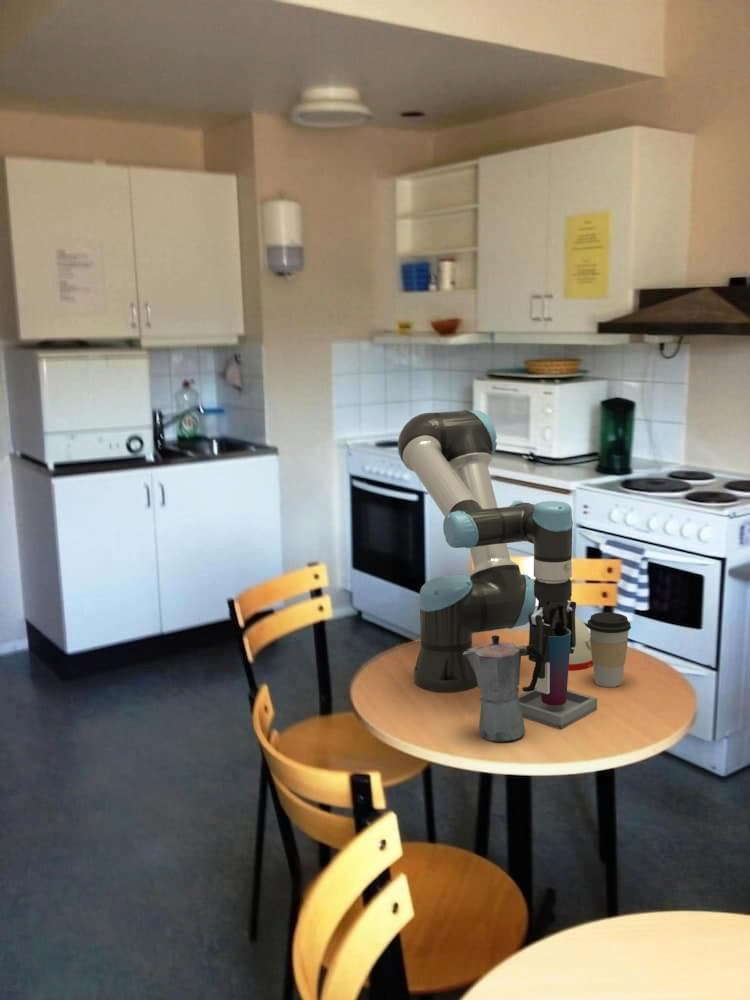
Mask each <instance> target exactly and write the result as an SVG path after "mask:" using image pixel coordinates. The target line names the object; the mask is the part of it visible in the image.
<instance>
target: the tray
mask: <svg viewBox="0 0 750 1000" xmlns="http://www.w3.org/2000/svg"><path fill="white" fill-rule="evenodd" d="M518 697H519V702H520V706H521V712H522V716H523V718H526V719H528V720H531V721H534V722H538V723H541V724H543V725H546V726H549V727H553V728H555V729H559V730H563V729H565V728H566V727H568V726H570V725H572V724H573V723H575V722H577V721H579V720H581V719H583V718H584V717H586V716H588V715H590V714H592V713H593V712H595V711H597V710H598V698H597V697H593V696H591V695H587V694H584V693H580V692H577V691H574V690H571V689H567V697H566V703H565V704H563V705H558V706H553V705H547V704H545V703H543V702H542V700H541V692H538V691H536V687H535V689H534V690H533V691H527V692H522V693H521V694H519V695H518Z"/></svg>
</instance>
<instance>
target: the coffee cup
mask: <svg viewBox="0 0 750 1000" xmlns="http://www.w3.org/2000/svg"><path fill="white" fill-rule="evenodd" d="M589 618H590V619H588V620H587V624H586V627H587V629H588V630H589V632H590V635H591V637H590V642H591V654H592V662H593V666H592V669H593V677H594V683H595V684H596V685H598V686H601V687H605V688H616V686H617V687H619V685H620V686H621V685H622V683H623V677H624V671H625V670H624V668H625V664H626V659H627V651H628V643H629V638H628V637H629V631H630V630H631V629H632V626H631V622H630V621H629V619H628V617H627V616H626V615H624V614H620V613H617V612H611V611H610V612H607V611H605V612H597V613H593V614H591V615H590V617H589Z"/></svg>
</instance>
